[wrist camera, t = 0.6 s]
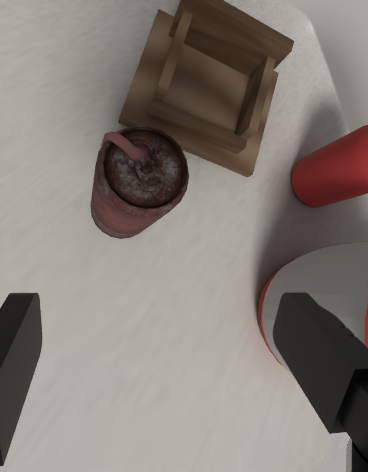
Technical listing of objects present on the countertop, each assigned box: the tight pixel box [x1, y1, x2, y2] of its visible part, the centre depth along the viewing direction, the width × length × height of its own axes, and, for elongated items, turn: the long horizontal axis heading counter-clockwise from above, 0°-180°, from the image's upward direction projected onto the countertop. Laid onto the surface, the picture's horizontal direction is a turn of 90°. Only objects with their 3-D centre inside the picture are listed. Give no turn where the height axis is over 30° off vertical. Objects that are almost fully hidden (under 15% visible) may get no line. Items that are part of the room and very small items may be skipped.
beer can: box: [292, 125, 368, 207], centre depth 35 cm, size 7×7×12 cm
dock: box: [119, 0, 294, 177], centre depth 34 cm, size 14×16×7 cm
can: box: [91, 126, 189, 239], centre depth 26 cm, size 6×6×14 cm
